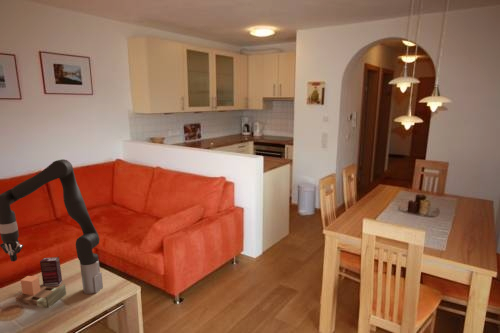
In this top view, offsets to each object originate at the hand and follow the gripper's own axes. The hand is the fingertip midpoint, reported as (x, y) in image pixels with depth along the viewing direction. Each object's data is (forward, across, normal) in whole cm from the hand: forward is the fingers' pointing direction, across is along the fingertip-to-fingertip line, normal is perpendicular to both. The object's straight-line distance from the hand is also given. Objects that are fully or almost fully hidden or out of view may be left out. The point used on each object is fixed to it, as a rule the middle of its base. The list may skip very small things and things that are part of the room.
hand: (13, 260), depth 172 cm
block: (+18, -8, 0) cm, 19 cm away
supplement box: (+21, -10, -13) cm, 26 cm away
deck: (+20, -14, 0) cm, 25 cm away
